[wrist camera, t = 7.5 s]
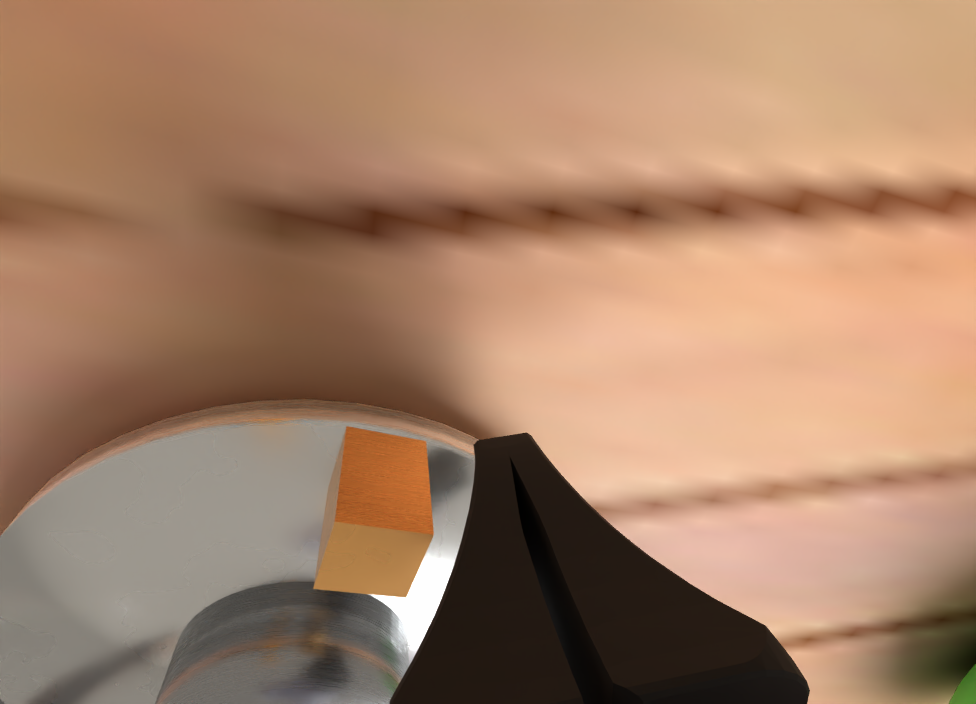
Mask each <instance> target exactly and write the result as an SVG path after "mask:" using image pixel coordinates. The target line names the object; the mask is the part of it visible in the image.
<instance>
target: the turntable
mask: <svg viewBox="0 0 976 704" xmlns="http://www.w3.org/2000/svg"><path fill="white" fill-rule="evenodd" d="M478 440H479V439H477V438H475V437H473V436H470V435H468V434H466V433H464V432H461V431H459V430H457V429H454V428H452V427H450V426H448V425H445V424H443V423H440V422H437V421H433V420H430V419H427V418H424V417H420V416H417V415H414V414H410V413H407V412H404V411H399V410H394V409H388V408H383V407H378V406H372V405H367V404H361V403H354V402H341V401H328V400H315V399H297V400H261V401H253V402H246V403H238V404H230V405H223V406H215V407H210V408H206V409H202V410H198V411H194V412H190V413H185V414H181V415H177V416H173V417H169V418H165V419H163V420H160V421H157V422H154V423H152V424H149V425H146V426H144V427H141V428H138V429H135V430H133V431H130V432H127V433H125V434H122V435H120V436H118V437H116V438H115V439H113V440H111V441H109V442H107V443H105V444H103V445H101V446H99V447H97V448H95V449H93V450H92V451H90V452H88V453H86V454H84V455H83V456H81V457H80V458H79V459H77V460H76V461H74V462H73V463H72V464H70V465H69V466H67V467H66V468H65V469H63V470H62V471H61V472H59V473H58V474H56V475H55V476H54V477H52V478H51V479H50V480H49V481H48V482H47V483H46V484H45V485H44V486H43V487H42V488H41V489H40V490H39V491H38V492H37V493H36V494H35V495H34V496H33V497H32V498H31V499H30V500H29V501H28V502H27V503H26V505H25V506H24V507H23V508H22V510H21V511H20V512H19V513H18V515H17V516H16V517H15V518H14V520H13V521H12V522H11V523H10V525H9V526H8V527H7V528H6V530H5V531H4V532H3V533H2V535H1V536H0V699H1V700H2V701H3V702H4V703H5V704H155V702H156V699H157V696H158V694H159V691H160V688H161V685H162V683H163V680H164V677H165V674H166V672H167V669H168V666H169V663H170V661H171V658H172V655H173V652H174V650H175V647H176V644H177V641H178V639H179V637H180V634H181V632H182V631H183V629H184V628H185V626H186V625H187V624H188V623H189V622H190V621H191V619H192V618H193V617H194V616H195V615H197V614H198V613H199V612H200V611H202V610H203V609H204V608H206V607H207V606H209V605H211V604H212V603H214V602H216V601H218V600H220V599H222V598H224V597H226V596H228V595H231V594H233V593H236V592H239V591H242V590H245V589H249V588H253V587H257V586H261V585H267V584H274V583H281V582H314V587H313V589H319V590H330V591H340V592H350V593H361V594H368V595H371V596H373V597H374V598H376V599H378V600H380V601H381V602H383V603H384V604H386V605H387V606H388V607H390V608H391V609H392V610H393V611H394V612H395V613H396V614H397V615H398V616H399V618H400V619H401V621H402V622H403V624H404V626H405V628H406V631H407V635H408V640H409V665H410V663H411V662H412V660H413V658H414V656H415V654H416V652H417V650H418V648H419V646H420V644H421V642H422V640H423V638H424V636H425V633H426V631H427V629H428V627H429V625H430V623H431V621H432V619H433V617H434V614H435V612H436V610H437V607H438V605H439V603H440V600H441V598H442V595H443V593H444V590H445V587H446V585H447V582H448V580H449V577H450V574H451V572H452V569H453V566H454V563H455V560H456V557H457V553H458V550H459V547H460V543H461V540H462V536H463V532H464V528H465V524H466V520H467V516H468V511H469V506H470V501H471V494H472V488H473V482H474V471H475V455H474V446H473V445H474V444H475V443H476V442H477V441H478Z"/></svg>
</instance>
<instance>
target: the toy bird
mask: <svg viewBox="0 0 976 704" xmlns="http://www.w3.org/2000/svg"><path fill="white" fill-rule="evenodd" d="M949 704H976V664H975V665H974V666H973V667H972V668H971V669H970V671H969V672H968V673H967V674H966V676H965V677H964V678H963V680H962V681H961V683H960V684H959V686H958V687H957V689H956V691H955V692H954V694H953V696H952V698H951V700H950V702H949Z"/></svg>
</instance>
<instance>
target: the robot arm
mask: <svg viewBox="0 0 976 704" xmlns="http://www.w3.org/2000/svg"><path fill="white" fill-rule="evenodd" d="M473 446H474V455H475V471H474V482H473V488H472V494H471V501H470V506H469V511H468V516H467V520H466V524H465V528H464V532H463V536H462V540H461V543H460V547H459V550H458V553H457V557H456V560H455V563H454V566H453V569H452V572H451V574H450V577H449V580H448V582H447V585H446V587H445V590H444V593H443V595H442V598H441V600H440V603H439V605H438V607H437V610H436V612H435V614H434V617H433V619H432V621H431V623H430V625H429V627H428V629H427V631H426V633H425V636H424V638H423V640H422V642H421V644H420V646H419V648H418V650H417V652H416V654H415V656H414V658H413V660H412V662H411V663H410V665H409V667H408V669H407V671H406V672H405V674H404V676H403V678H402V679H401V681H400V683H399V685H398V687H397V688H396V690H395V692H394V694H393V695H392V697H391V699H390V702H389V704H807V701H808V696H809V692H810V690H809V687H808V684H807V681H806V680H805V678H804V676H803V675H802V673H801V672H800V670H799V669H798V667H797V666H796V664H795V663H794V661H793V660H792V658H791V657H790V656H789V654H788V653H787V652H786V650H785V649H784V648H783V647H782V645H781V644H780V643H779V642H778V640H777V639H776V638H775V637H774V635H773V634H772V633H771V632H770V631H769V629H768V628H767V627H766V626H765V625H763V624H761V623H759V622H758V621H756V620H754V619H752V618H750V617H748V616H746V615H744V614H742V613H740V612H739V611H737V610H735V609H733V608H731V607H729V606H727V605H725V604H723V603H721V602H720V601H718V600H716V599H714V598H712V597H711V596H709V595H708V594H706V593H704V592H703V591H701V590H699V589H698V588H696V587H694V586H693V585H691V584H690V583H688V582H687V581H685V580H684V579H682V578H681V577H679V576H678V575H676V574H675V573H673V572H672V571H670V570H669V569H668V568H666V567H665V566H663V565H662V564H660V563H659V562H657V561H656V560H654V559H653V558H652V557H650V556H649V555H648V554H646V553H645V552H644V551H642V550H641V549H640V548H638V547H637V546H636V545H635V544H633V543H632V542H631V541H630V540H628V539H627V538H626V537H625V536H624V535H622V534H621V533H620V532H619V531H618V530H616V529H615V528H614V527H613V526H612V525H611V524H610V523H608V522H607V521H606V520H605V519H604V518H603V517H602V516H601V515H600V514H599V513H598V512H597V511H596V510H595V509H594V508H592V507H591V506H590V505H589V504H588V503H587V502H586V501H585V500H584V499H583V498H582V497H581V496H580V495H579V493H578V492H577V491H576V490H575V489H574V488H573V487H572V486H571V485H570V484H569V483H568V482H567V480H566V479H565V478H564V477H563V476H562V475H561V474H560V473H559V471H558V470H557V469H556V468H555V467H554V465H553V464H552V463H551V462H550V461H549V459H548V458H547V457H546V455H545V454H544V453H543V452H542V450H541V449H540V448H539V446H538V445H537V443H536V442H535V441H534V439H533V438H532V436H531V435H529V434H528V433H522V434H515V435H509V436H503V437H496V438H490V439H484V440H478V441H477V442H476V443H475V444H474V445H473Z"/></svg>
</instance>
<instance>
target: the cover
mask: <svg viewBox="0 0 976 704" xmlns="http://www.w3.org/2000/svg"><path fill="white" fill-rule="evenodd" d="M313 587H314V582H281V583H274V584H267V585H261V586H257V587H253V588H249V589H245V590H242V591H239V592H236V593H233V594H231V595H228V596H226V597H224V598H222V599H220V600H218V601H216V602H214V603H212V604H211V605H209V606H207V607H206V608H204V609H203V610H202V611H200V612H199V613H198V614H197V615H195V616H194V617H193V618H192V619H191V621H190V622H189V623H188V624H187V625H186V626H185V628H184V629H183V631H182V632H181V634H180V637H179V639H178V641H177V644H176V647H175V650H174V652H173V655H172V658H171V661H170V663H169V666H168V669H167V672H166V674H165V677H164V680H163V683H162V685H161V688H160V691H159V694H158V696H157V699H156V702H155V704H389V702H390V699H391V697H392V695H393V694H394V692H395V690H396V688H397V687H398V685H399V683H400V681H401V679H402V678H403V676H404V674H405V672H406V671H407V669H408V667H409V640H408V635H407V631H406V628H405V626H404V624H403V622H402V621H401V619H400V618H399V616H398V615H397V614H396V613H395V612H394V611H393V610H392V609H391V608H390V607H388V606H387V605H386V604H384V603H383V602H381V601H380V600H378V599H376V598H374V597H373V596H371V595H368V594H361V593H350V592H340V591H330V590H319V589H313Z"/></svg>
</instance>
